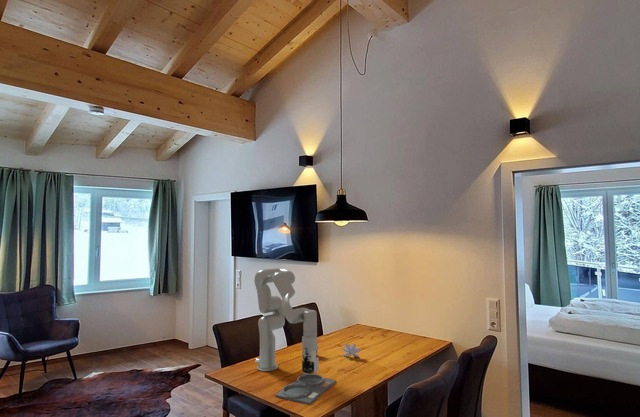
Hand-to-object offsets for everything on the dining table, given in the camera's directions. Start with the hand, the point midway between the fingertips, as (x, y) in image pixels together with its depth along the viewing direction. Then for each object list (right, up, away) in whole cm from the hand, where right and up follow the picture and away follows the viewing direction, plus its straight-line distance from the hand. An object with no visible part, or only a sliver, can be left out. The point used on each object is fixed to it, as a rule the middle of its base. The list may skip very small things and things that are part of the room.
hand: (310, 365), depth 206 cm
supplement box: (-2, -13, +47) cm, 49 cm away
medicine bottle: (0, -4, 0) cm, 4 cm away
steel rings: (-3, -8, -7) cm, 11 cm away
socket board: (-2, -9, -8) cm, 12 cm away
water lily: (+26, -13, +41) cm, 51 cm away
